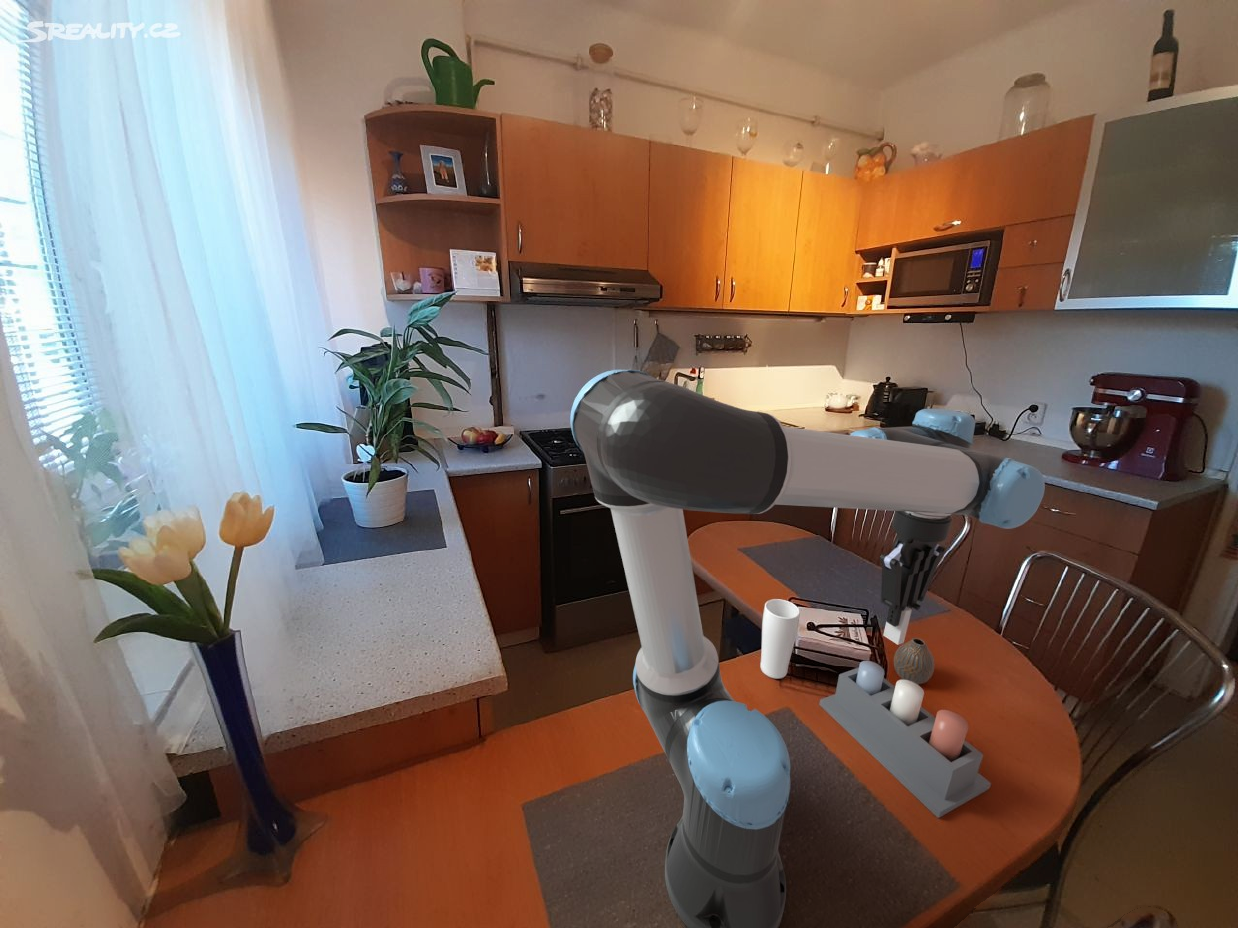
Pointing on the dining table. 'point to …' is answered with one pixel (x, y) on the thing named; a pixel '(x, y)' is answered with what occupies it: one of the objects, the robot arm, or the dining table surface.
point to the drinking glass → (778, 636)
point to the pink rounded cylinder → (948, 734)
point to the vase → (914, 661)
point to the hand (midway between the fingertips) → (893, 638)
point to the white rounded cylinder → (907, 701)
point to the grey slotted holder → (906, 746)
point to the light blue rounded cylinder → (870, 677)
